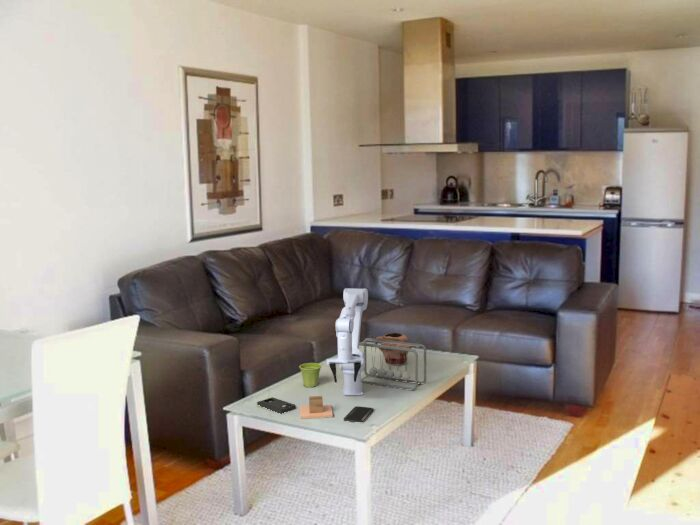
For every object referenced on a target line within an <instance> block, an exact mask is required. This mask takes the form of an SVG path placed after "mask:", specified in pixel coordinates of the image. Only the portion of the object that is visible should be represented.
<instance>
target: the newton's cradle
mask: <svg viewBox="0 0 700 525" xmlns="http://www.w3.org/2000/svg"><path fill="white" fill-rule="evenodd" d="M369 341H370V342H373V343H368V342H369ZM375 342H378V343H380V344H378V343H377V344H378V345H377V344H375ZM382 342H383V343H391V344H400V345H408V346H412V347H416V348H412V349H409V348H401V347H397V346H396V347H393V346H389V345H388V346H385V345H381V343H382ZM383 343H382V344H383ZM359 346H362V347H363V353H364V355H365V367H364V370H363V372H364V375H365V376H364V377H362V378H361V384H368V385H373V384H375V386H380V385H381V387H386V386H388V387H387V388H393V387H396V388H395V389H399V388H402V389H401V390H406V389H412V390H414V391H416V390H417V389H418V387H419V385H418V383H424V384H426V382H427V347H426V345H424V344H421V343H416V342H415V343H414V342H410V343H407V342H399V341H391V340H383V339H376V338H373V337H366V338H364V340H363V341H360V342H359ZM398 346H399V345H398ZM367 347H369V348H370V349H371V351H373V348H374V350H375V351H374V352H376V349H379V351H381V350H380V348H385V349H387V351H388V349H392V350H400V351H408V353H407V360H408V359H409V358H408V356H409V353H413V354H414V380H410V378H411V373H409V372H408V368H407V367H408V366H405V367H404V369H405V371H404V372H402V371H400V370H399V366H400V365H397V367H396V368H397V369H396V370H395V371H393V369H391V367H392V364H391V363H390V364H389V367H388V369H387V370H386V369H385V368H383V365H384V364H383V363H384V362H381V365H380V368H379V369H377V368H376V366H372V367H370V368H369V370H368V371H367V368H368V366H367ZM406 347H407V346H406ZM419 348H422V349H423V381H419V380H418V378H419V377H418V375H419V373H418V372H419V370H418V369H419V368H418V366H419V365H418V363H419V362H418V361H419V360H418V357H419V356H418V352H417V351H416V350H417V349H419ZM392 350H391V355H392ZM400 351H399V356H400ZM383 354H384V350H383V353H382V355H383ZM379 358H380V361H382V359H381V358H382V357H381V355H379ZM375 359H376V357H371V361H372V364H374V362H375ZM373 360H374V361H373ZM388 361H389V357H388ZM396 361H397V357H396ZM404 361H405V356H404ZM369 376H370V378H375V377H377V378H376V379H382V378H384V379H383V380H389V379H392V380H391V381H395V380H398V381H399V382H402V381H407V382H406V383H409V382H415V383H414V387H409V386H403V385H397V384H396V385H395V384H390V383H383V382H382V383H381V382H377V381H369V380H364V379H366V378H368V377H369ZM398 381H397V382H398ZM412 390H411V391H412Z"/></svg>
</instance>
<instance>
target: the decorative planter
mask: <svg viewBox="0 0 700 525" xmlns="http://www.w3.org/2000/svg"><path fill="white" fill-rule="evenodd" d="M375 339H383V340H391V341H399V342H407V343H411V342H410V339H409V337H407V335H405V334H403V333H400V332H390V333H386V334H384V335H383V336H376V338H375ZM374 342H375V341H374ZM382 343H383V342H380V344H381V345H385V346H388V345H389V346H393V347H396V346H397V347H401V348H409V349H413V346H408V345H400V344H391V343H383V344H382ZM374 344H377V345H379V342H375V343H374ZM398 345H399V346H398ZM406 346H407V347H406ZM383 350H384V354H383ZM391 350H392V349H388V351H387V349H385V348H380V350H379V351H380V352H381V353H382V356H383V358H384V360H385V363H386V364H388V365H390V363H391V366H392V365H393V366H398V365H399V366H401V365H406V364H407V363H408V359H407V354H409V352H408V351H400V350H392V355H391ZM399 351H400V356H399ZM404 356H405V361H404ZM388 357H389V361H388ZM396 357H397V361H396Z"/></svg>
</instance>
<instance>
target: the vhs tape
mask: <svg viewBox="0 0 700 525" xmlns="http://www.w3.org/2000/svg"><path fill="white" fill-rule="evenodd" d="M257 405H260V406H262V407H265V408H267V409H266V410H268V409H270V410H269V411H271V410H272V411H271V412H274V411H275V412H274V413H276V412H277V414H279V413H280V414H279V415H283V414H285V413H284V412H286V413H288V411H289V412H291V411H294V410H296V408H297V407H296V406H297V405H296V403H295V404H294V403H291V402H289V401H285V400H283V399H279V398H275V397H273V396H271V397H268V398H266V399H263V400H262V399H261V400H260V401H257V402H256V406H257ZM289 406H290V407H289ZM262 407H261V408H262ZM265 408H264V409H265ZM282 413H283V414H282Z"/></svg>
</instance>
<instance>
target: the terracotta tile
mask: <svg viewBox="0 0 700 525" xmlns="http://www.w3.org/2000/svg"><path fill="white" fill-rule="evenodd" d="M333 416H334V414H333V409H332V405H331V404H323V413H310V410H309V405H300V419H301V420H302V419H321V418H322V419H325V418H324V417H330V418H334V417H333Z"/></svg>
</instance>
